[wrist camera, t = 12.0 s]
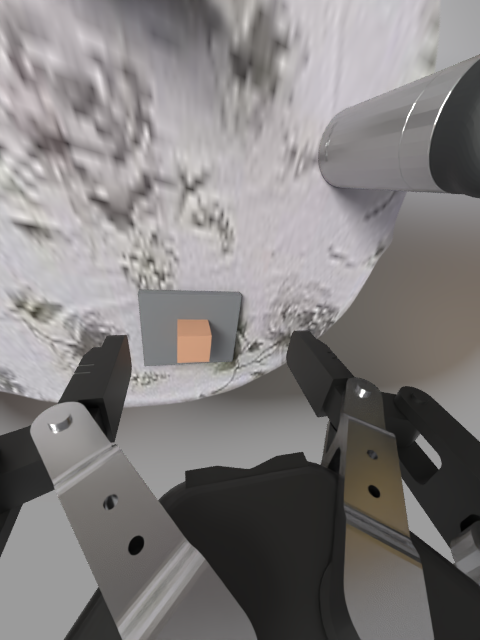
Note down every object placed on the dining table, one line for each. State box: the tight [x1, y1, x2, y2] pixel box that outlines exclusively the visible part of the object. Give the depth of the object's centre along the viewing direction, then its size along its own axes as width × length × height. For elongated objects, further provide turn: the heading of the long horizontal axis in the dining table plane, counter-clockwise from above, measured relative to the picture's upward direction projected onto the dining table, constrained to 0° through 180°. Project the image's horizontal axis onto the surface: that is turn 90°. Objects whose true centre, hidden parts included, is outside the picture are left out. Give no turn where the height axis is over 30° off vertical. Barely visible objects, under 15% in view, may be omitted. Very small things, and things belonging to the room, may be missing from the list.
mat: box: [138, 290, 242, 366], centre depth 41 cm, size 16×14×2 cm
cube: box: [177, 319, 212, 363], centre depth 38 cm, size 5×5×5 cm
